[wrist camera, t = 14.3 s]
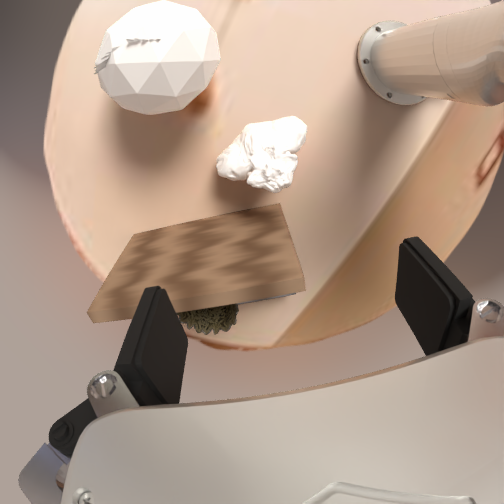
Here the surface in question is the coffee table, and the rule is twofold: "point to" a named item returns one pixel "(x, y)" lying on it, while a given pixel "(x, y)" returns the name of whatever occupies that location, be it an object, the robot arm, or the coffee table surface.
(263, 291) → the board
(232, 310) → the cup
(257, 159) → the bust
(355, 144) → the coffee table surface
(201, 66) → the geodesic sphere
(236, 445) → the robot arm
